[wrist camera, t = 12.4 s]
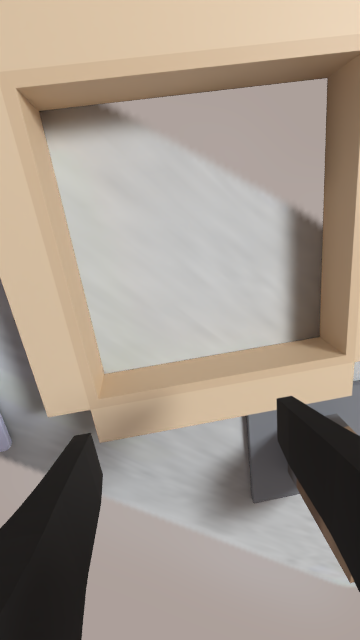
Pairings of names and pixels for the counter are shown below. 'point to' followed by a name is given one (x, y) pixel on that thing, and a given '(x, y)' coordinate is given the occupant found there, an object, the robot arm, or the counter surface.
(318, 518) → the walnut block
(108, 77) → the wooden square frame
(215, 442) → the counter surface
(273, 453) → the slate mat
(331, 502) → the robot arm
